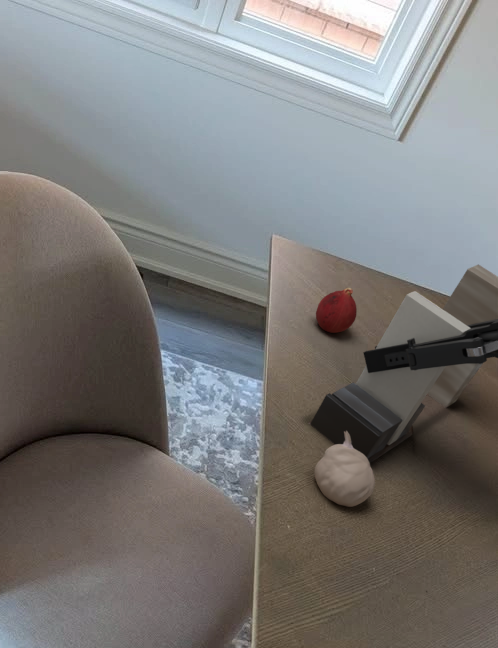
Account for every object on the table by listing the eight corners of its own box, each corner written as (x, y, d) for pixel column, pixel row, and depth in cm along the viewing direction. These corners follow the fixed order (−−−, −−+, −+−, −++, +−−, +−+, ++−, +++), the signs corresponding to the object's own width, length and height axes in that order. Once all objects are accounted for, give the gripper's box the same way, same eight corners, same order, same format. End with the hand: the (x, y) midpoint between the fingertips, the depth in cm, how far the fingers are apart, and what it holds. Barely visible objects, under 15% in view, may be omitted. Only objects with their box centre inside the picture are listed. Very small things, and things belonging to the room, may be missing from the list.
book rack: (404, 372, 113) (474, 261, 100) (455, 409, 110) (534, 299, 96) (304, 427, 98) (371, 304, 85) (359, 472, 94) (438, 351, 81)
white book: (349, 404, 102) (415, 290, 89) (396, 440, 99) (471, 328, 86) (341, 408, 101) (406, 294, 88) (388, 445, 98) (463, 332, 85)
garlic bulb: (354, 481, 93) (384, 434, 87) (363, 520, 88) (396, 473, 83) (304, 471, 92) (331, 423, 86) (311, 510, 87) (340, 462, 82)
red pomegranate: (314, 342, 113) (337, 296, 107) (303, 319, 117) (324, 274, 111) (348, 346, 115) (373, 301, 109) (336, 323, 118) (359, 279, 113)
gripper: (592, 273, 81) (396, 316, 99) (537, 305, 72) (332, 345, 90) (604, 341, 83) (409, 371, 101) (551, 380, 74) (347, 405, 92)
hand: (373, 359), depth 96 cm, fingers closed on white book, 2 cm apart
